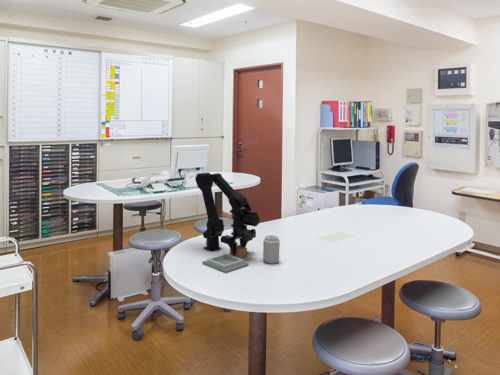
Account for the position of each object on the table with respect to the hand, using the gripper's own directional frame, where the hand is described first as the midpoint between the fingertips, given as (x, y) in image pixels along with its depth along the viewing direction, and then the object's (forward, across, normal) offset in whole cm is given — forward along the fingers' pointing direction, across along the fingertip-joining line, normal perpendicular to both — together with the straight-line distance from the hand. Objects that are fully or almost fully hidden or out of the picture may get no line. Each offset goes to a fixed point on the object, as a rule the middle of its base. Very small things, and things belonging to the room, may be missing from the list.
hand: (238, 253), depth 202 cm
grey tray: (+1, -13, -5) cm, 14 cm away
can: (+1, +6, -16) cm, 17 cm away
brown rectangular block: (+1, 0, 0) cm, 1 cm away
